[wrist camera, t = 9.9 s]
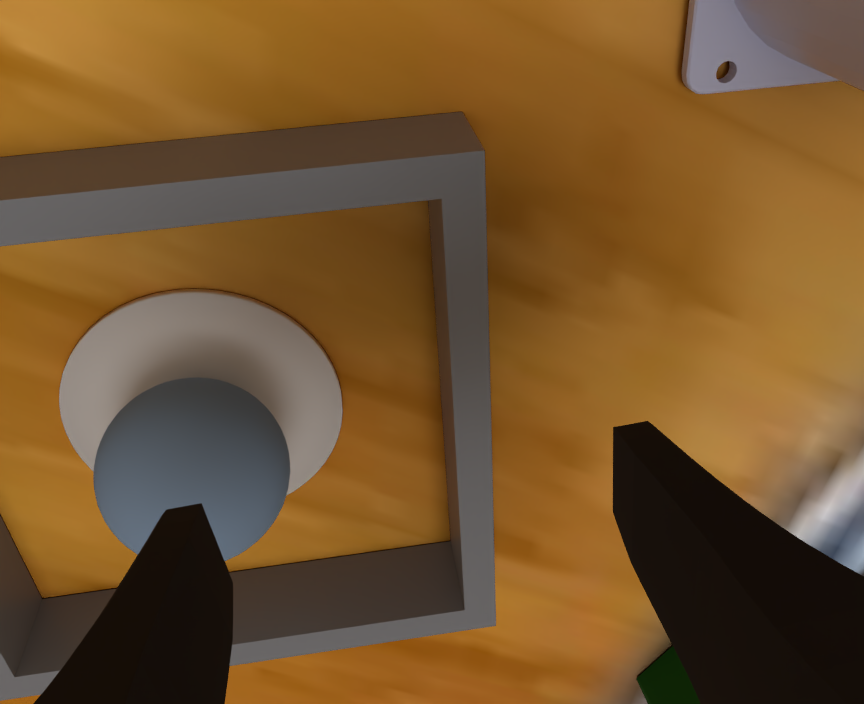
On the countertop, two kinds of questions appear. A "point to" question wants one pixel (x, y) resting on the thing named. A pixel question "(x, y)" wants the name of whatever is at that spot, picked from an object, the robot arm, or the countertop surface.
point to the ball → (193, 462)
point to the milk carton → (667, 681)
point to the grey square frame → (271, 368)
